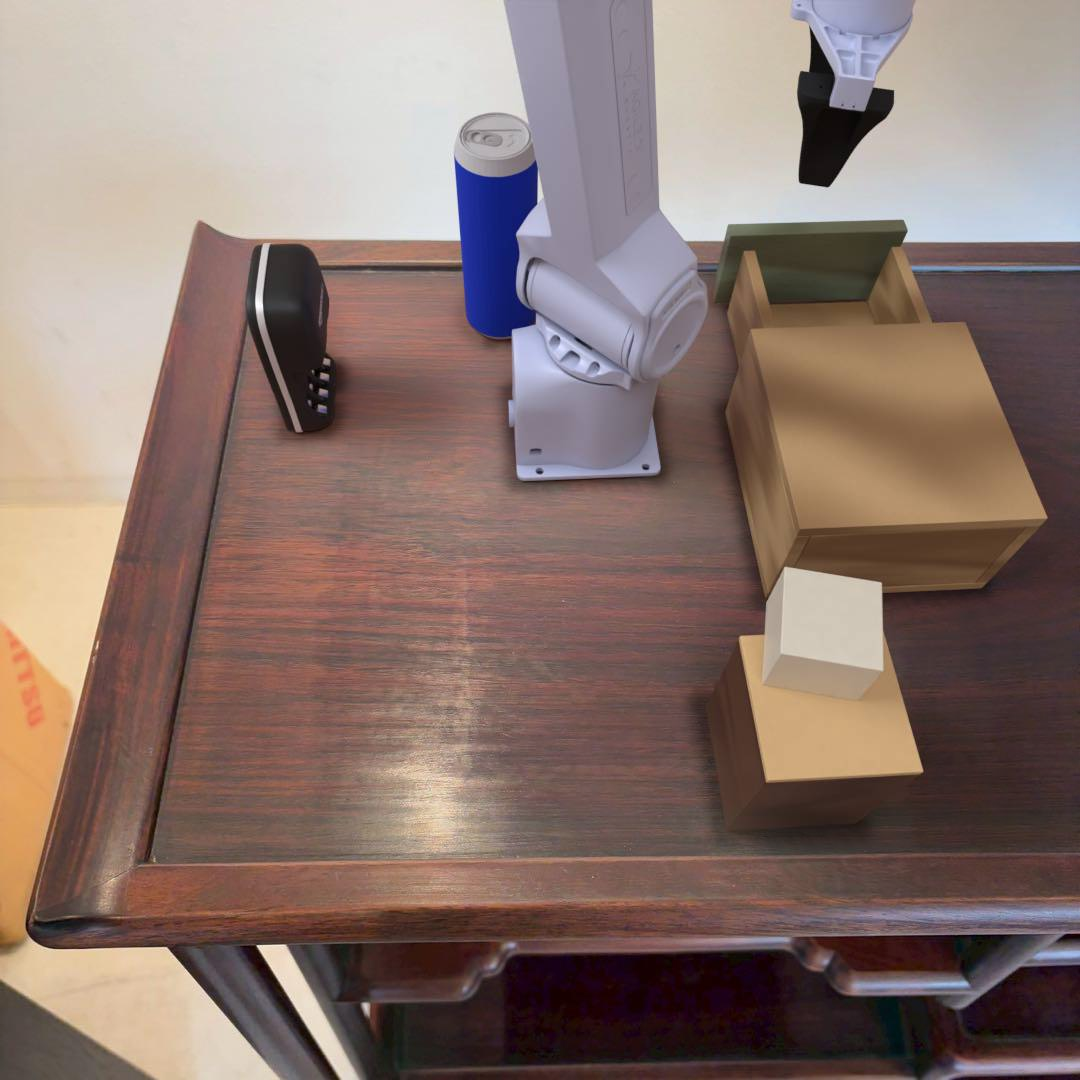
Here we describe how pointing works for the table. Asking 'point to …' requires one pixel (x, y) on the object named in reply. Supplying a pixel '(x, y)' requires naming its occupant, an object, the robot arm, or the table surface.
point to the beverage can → (494, 217)
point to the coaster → (829, 727)
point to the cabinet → (878, 457)
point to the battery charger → (292, 332)
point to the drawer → (816, 276)
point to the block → (823, 634)
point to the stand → (777, 802)
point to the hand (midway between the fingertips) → (817, 146)
